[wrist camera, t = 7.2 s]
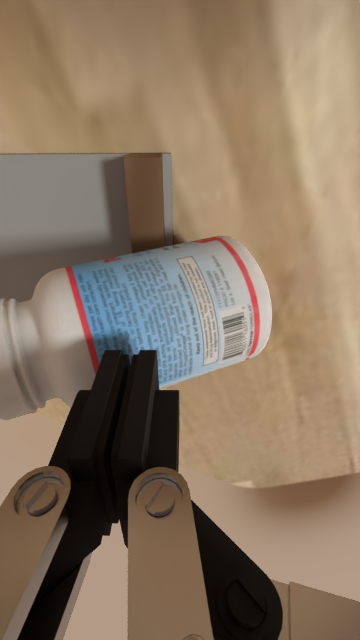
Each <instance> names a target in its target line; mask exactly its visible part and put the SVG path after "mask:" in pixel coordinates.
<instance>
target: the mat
mask: <svg viewBox="0 0 360 640" xmlns="http://www.w3.org/2000/svg"><path fill="white" fill-rule="evenodd" d="M128 154H141V153H39V154H0V299H1V298H5V299H6V300H7V301H9V300H10V299H11V298H14V299H15V300H16V301H17V302H18V303H20V302H24V301H28V300H31V299H32V297H33V294H34V290H35V287H36V285H37V283H38V282H39V280H40V279H41V278H42V277H43V276H44V275H45V274H47V273H49V272H50V271H53V270H56V269H60V268H64V267H69V266H74V265H79V264H83V263H88V262H93V261H98V260H103V259H106V258H112V257H117V256H122V255H127V254H132V246H131V235H130V224H129V212H128V201H127V190H126V178H125V167H124V157H125V156H127V155H128ZM142 154H146V153H142ZM147 154H151V153H147ZM152 154H154V153H152ZM155 154H156V153H155ZM157 154H158V153H157ZM160 154H161V153H160ZM162 159H163V191H164V223H165V247H166V246H172V245H173V225H172V170H171V153H163V154H162Z"/></svg>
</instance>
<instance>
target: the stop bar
mask: <svg viewBox="0 0 360 640" xmlns="http://www.w3.org/2000/svg"><path fill="white" fill-rule="evenodd" d="M162 154H163V153H161V154H160V153H158V154H157V153H156V154H155V153H154V154H152V153H151V154H147V153H146V154H142V153H141V154H128V155H127V156H125V157H124V167H125V178H126V190H127V201H128V212H129V224H130V235H131V246H132V253H137V252H142V251H147V250H152V249H157V248H161V247H165V223H164V191H163V159H162Z"/></svg>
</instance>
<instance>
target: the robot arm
mask: <svg viewBox="0 0 360 640" xmlns="http://www.w3.org/2000/svg"><path fill="white" fill-rule="evenodd" d="M178 462H179V390H159V375H158V359H157V350H140V351H139V354H133V357H132V361H131V365H130V357H129V354H124V353H123V350H105V351H104V354H103V356H102V359H101V362H100V365H99V368H98V371H97V373H96V376H95V379H94V382H93V385H92V388H91V390H80V391H78V393H77V395H76V397H75V400H74V402H73V405H72V407H71V410H70V412H69V415H68V417H67V420H66V422H65V425H64V427H63V430H62V433H61V435H60V437H59V440H58V442H57V445H56V448H55V450H54V453H53V455H52V458H51V460H50V462H49V465H48V466H44V467H40V468H36V469H34V470H32V471H30V472H28V473H27V474H25V475H24V476H23V477H22V478H20V479H19V480H18V481H17V482H16V484H15V485H14V486H13V487H12V489H11V490H10V492H9V494H8V495H7V497H6V498H5V500H4V501H3V503H2V505H1V506H0V640H63V637H64V634H65V631H66V629H67V626H68V623H69V620H70V617H71V614H72V611H73V608H74V606H75V602H76V600H77V597H78V594H79V591H80V588H81V585H82V583H83V580H84V577H85V574H86V571H87V568H88V565H89V563H90V558H91V554H92V552H93V550H95V549H96V548H97V547H98V546H99V545H100V544H101V540H102V535H106V536H109V535H110V531H111V526H112V523H118V521H119V519H120V524H121V528H122V533H123V538H124V542H125V545H126V547H127V548H128V640H360V602H358V601H355V600H351V599H348V598H345V597H341V596H338V595H334V594H331V593H328V592H324V591H321V590H317V589H314V588H311V587H307V586H304V585H301V584H297V583H294V582H290V583H289V585H288V584H284V583H281V582H278V581H274V580H271V579H269V578H268V576H267V575H266V574H265V573H264V572H263V571H262V570H261V569H260V568H259V567H258V566H257V565H256V564H255V563H254V562H253V561H252V560H251V559H250V558H249V557H248V556H247V555H246V554H245V553H244V552H243V551H242V550H241V549H240V548H239V547H238V546H237V545H236V544H235V543H234V542H233V541H232V540H231V539H230V538H229V537H228V536H227V535H226V534H225V533H224V532H223V531H222V530H221V529H220V528H219V527H218V526H217V525H216V524H215V523H214V522H213V521H212V520H211V519H210V518H209V517H208V516H207V515H206V514H205V513H204V512H203V511H202V510H201V509H200V508H199V507H198V506H197V505H196V504H195V503H194V502H193V501H192V500H191V497H190V491H189V488H188V485H187V482H186V481H185V479H184V478H183V477H182V475H181V474H179V473H178Z"/></svg>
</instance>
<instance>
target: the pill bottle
mask: <svg viewBox="0 0 360 640" xmlns="http://www.w3.org/2000/svg"><path fill="white" fill-rule="evenodd" d="M271 323H272V306H271V299H270V294H269V289H268V286H267V283H266V280H265V278H264V275H263V273H262V271H261V269H260V267H259V265H258V264H257V262H256V261H255V259H254V258H253V257H252V255H251V254H250V252H249V251H248V250H247V249H246V248H245V247H244V246H243V245H242V244H241V243H240V242H238V241H237V240H235V239H233V238H231V237H228V236H217V237H211V238H206V239H201V240H196V241H191V242H186V243H181V244H176V245H172V246H166V247H161V248H157V249H152V250H147V251H142V252H137V253H132V254H127V255H122V256H117V257H112V258H106V259H103V260H98V261H93V262H88V263H83V264H79V265H74V266H69V267H64V268H60V269H56V270H53V271H50V272H49V273H47V274H45V275H44V276H43V277H42V278H41V279H40V280H39V282H38V283H37V285H36V287H35V290H34V294H33V297H32V299H31V300H28V301H24V302H20V303H18V302H17V301H16V300H15V299H14V298H11V299H10V300H9V301H7V300H6V299H5V298H1V299H0V419H2V420H9V419H12V418H16V417H19V416H22V415H26V414H29V413H35V412H36V411H37V409H38V407H39V408H43V407H45V404H46V401H47V400H50V399H53V398H61V399H62V400H63V401H64V402H65V403H66V404H67V405H68V406H70V407H72V405H73V402H74V400H75V397H76V395H77V393H78V391H80V390H91V388H92V385H93V382H94V379H95V376H96V373H97V371H98V368H99V365H100V362H101V359H102V356H103V354H104V351H105V350H123V353H124V354H129V357H130V365H131V361H132V357H133V354H139V351H140V350H157V359H158V375H159V389H161V388H164V387H167V386H170V385H173V384H176V383H179V382H182V381H185V380H188V379H191V378H194V377H197V376H200V375H203V374H206V373H209V372H212V371H215V370H218V369H221V368H224V367H227V366H230V365H233V364H236V363H239V362H242V361H245V360H247V359H250V358H252V357H254V356H256V355H258V354H259V353H260V352H261V351H262V350H263V348H264V347H265V345H266V343H267V341H268V338H269V335H270V331H271Z"/></svg>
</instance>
